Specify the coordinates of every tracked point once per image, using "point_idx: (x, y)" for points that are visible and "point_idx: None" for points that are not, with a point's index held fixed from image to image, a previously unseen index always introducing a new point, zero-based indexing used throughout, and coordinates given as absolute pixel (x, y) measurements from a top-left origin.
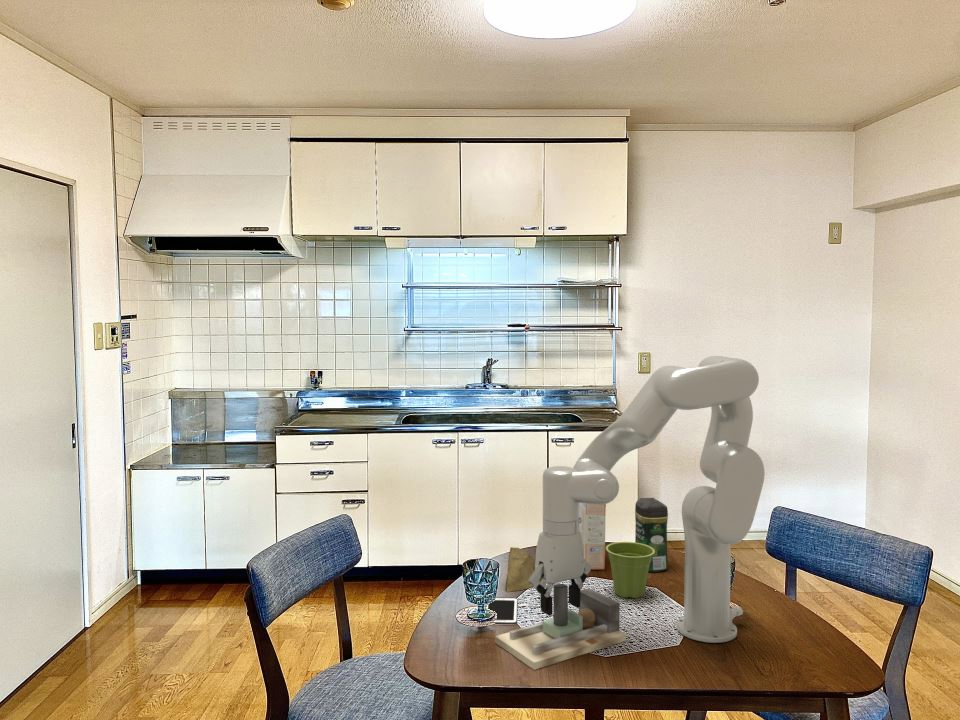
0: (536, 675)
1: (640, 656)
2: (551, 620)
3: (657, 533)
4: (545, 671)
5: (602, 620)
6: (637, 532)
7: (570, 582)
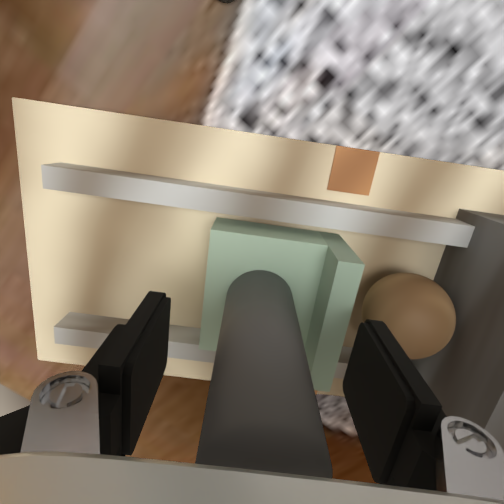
0: (42, 366)
1: (361, 461)
2: (250, 251)
3: None
4: (79, 367)
5: (428, 372)
6: None
7: (440, 437)
